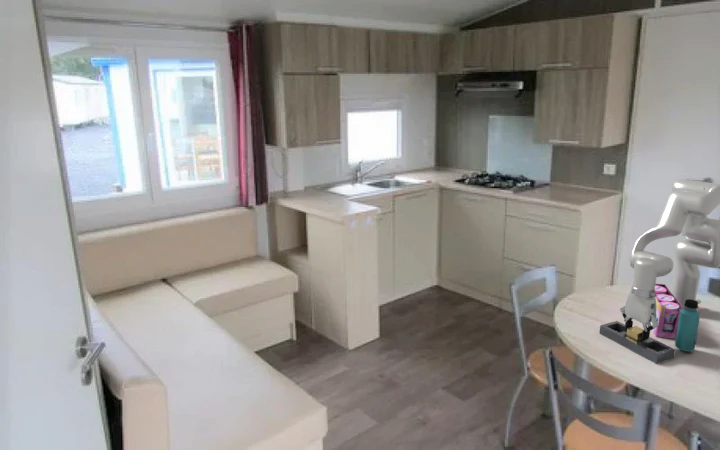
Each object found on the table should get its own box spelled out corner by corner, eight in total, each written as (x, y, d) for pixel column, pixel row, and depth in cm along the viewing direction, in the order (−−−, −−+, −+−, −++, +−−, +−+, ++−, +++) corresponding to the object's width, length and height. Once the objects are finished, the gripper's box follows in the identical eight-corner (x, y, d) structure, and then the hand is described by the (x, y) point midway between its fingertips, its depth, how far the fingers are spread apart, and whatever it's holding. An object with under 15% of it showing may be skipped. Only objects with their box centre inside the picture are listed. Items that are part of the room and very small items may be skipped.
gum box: (679, 340, 200) (684, 308, 197) (656, 338, 202) (661, 306, 199) (661, 313, 223) (665, 284, 219) (640, 312, 225) (644, 282, 221)
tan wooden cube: (634, 336, 200) (636, 325, 199) (645, 342, 196) (646, 331, 195) (625, 339, 198) (627, 328, 197) (636, 344, 194) (637, 333, 193)
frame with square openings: (615, 328, 211) (617, 320, 210) (673, 358, 188) (675, 349, 188) (599, 333, 207) (600, 325, 206) (656, 363, 185) (657, 355, 184)
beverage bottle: (694, 357, 189) (703, 306, 183) (672, 352, 192) (681, 302, 187) (694, 349, 194) (703, 299, 189) (673, 344, 198) (681, 295, 192)
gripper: (671, 298, 185) (664, 343, 191) (629, 281, 201) (624, 323, 206) (656, 302, 183) (649, 348, 188) (615, 285, 198) (610, 327, 203)
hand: (636, 335), depth 197 cm, fingers open, 6 cm apart
